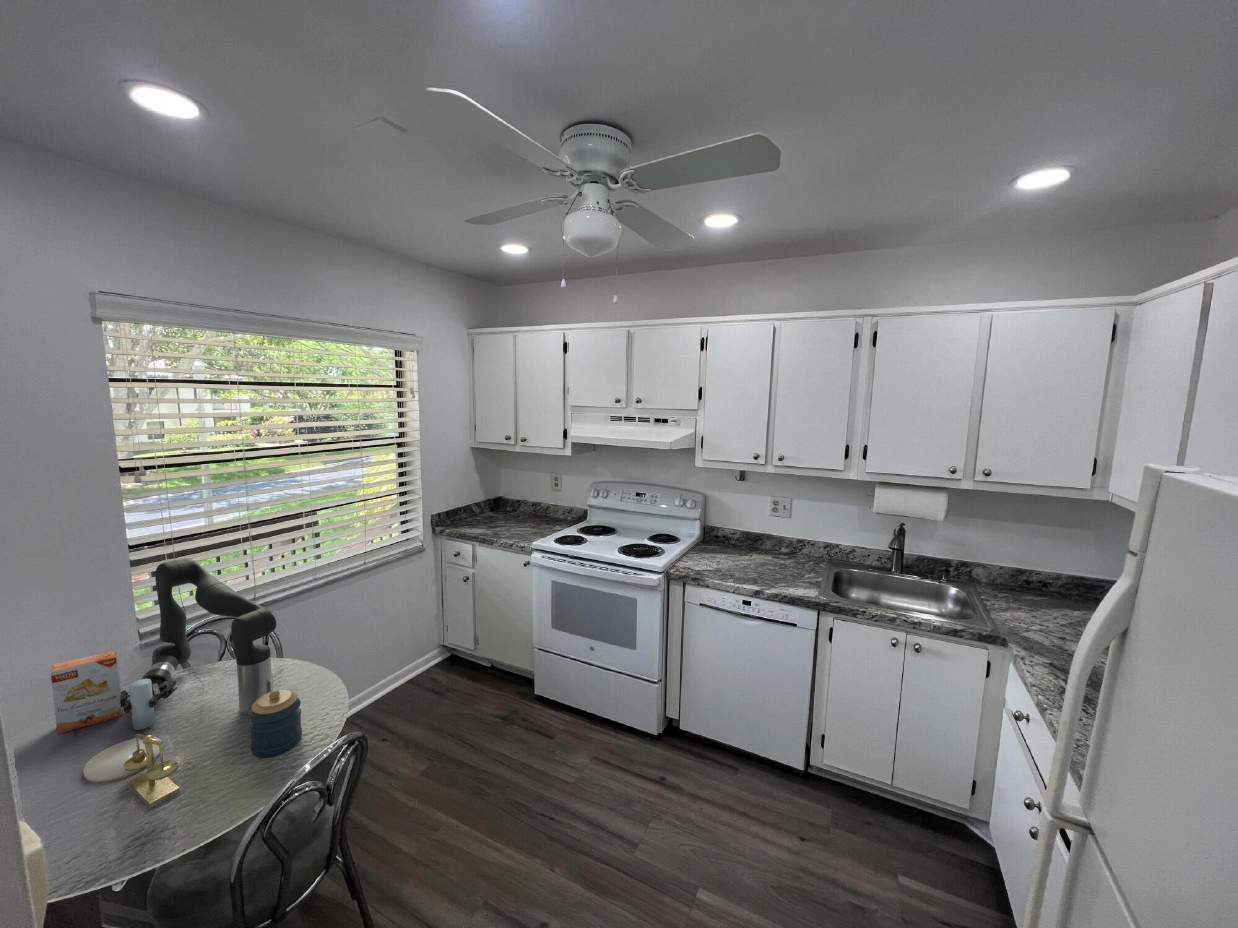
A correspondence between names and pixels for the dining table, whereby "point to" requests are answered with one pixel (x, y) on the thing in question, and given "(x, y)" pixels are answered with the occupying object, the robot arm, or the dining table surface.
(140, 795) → the brass balance
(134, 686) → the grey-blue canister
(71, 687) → the cracker box
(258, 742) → the canister
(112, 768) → the cream plate
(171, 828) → the dining table surface
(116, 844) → the dining table surface
